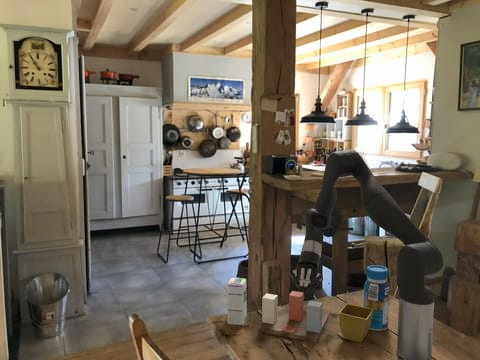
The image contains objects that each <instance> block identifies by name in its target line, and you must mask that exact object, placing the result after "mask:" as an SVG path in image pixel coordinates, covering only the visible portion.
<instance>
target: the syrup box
mask: <svg viewBox="0 0 480 360" xmlns="http://www.w3.org/2000/svg"><path fill="white" fill-rule="evenodd" d="M247 297H248V295H247V278H244V277H230V279H229V280H228V282H227V283H226V307H227V308H226V310H227V313H226V314H227V317H226V318H227V324H228V325H233V326H234V325H235V326H244V325H245V323H246V321H247V319H248V307H247V306H248V299H247Z"/></svg>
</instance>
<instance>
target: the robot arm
mask: <svg viewBox="0 0 480 360" xmlns="http://www.w3.org/2000/svg"><path fill="white" fill-rule="evenodd" d="M351 176H352V177H353V178H355V180H356V181H357V182H358V184H359V186H360V204H361V207H362V209H363V211H364V212H365V213H366V214H367V216H368V217H369V218H370V219H371V221H372V222H373V223H374V224H375V225H377V226H378V227H379V228H381V229H383V230H384V231H386V232H387V233H389V234H390V235H392V236H394V237H395V238H397V239H398V240H399V241H400V242H402V244H403V246H402V247H400V249H399V250H398V253H397V258H396V284H397V287H398V294H399V298H398V315H397V316H398V319H397V320H398V321H397V336H396V354H397V356H398V357H399V358H401V360H432V355H433V338H434V327H433V325H434V314H435V313H434V311H435V310H434V309H435V296H436V295H435V292H434V289H432V288H431V287H429V286H426V285H425V276H430V275H431V276H432V275H434V274H438V273H439V272H441V271H442V270H443V267H444V263H445V262H444V257H443V254H442V252H441V250H440V249H439V248H438V247H437V245H436V244H435V243H434V242H433V241H432V240H431V239H430V238H429V237H428V236H427V235H426V234H424V232H423V231H422V230H420V228H418V226H417V225H415V223H414V222H413V221H412V220H411V219H410V217H409V216H408V215H407V214H406V213H405V211H404V210H403V209H401V207H400V205H398V202H396V200H395V198H393V196H391V194H390V193H389V192H388V191H387V190H386V188H385V187H384V186H383V184H381V183H380V181H379V180H378V179H377V178H376V176H375V175H374V174H373V172H372V171H371V168H369V166H368V164H367V163H366V162H365V160H364V158H363V157H362V156H361V154H360V153H359V152H358V151H357V150H355V149H349V148H348V149H343V150H336V151H333V152H331V153H330V154H328V157H327V159H326V162H325V167H324V172H323V176H322V181H321V188H320V191H319V192H318V196H317V198H316V200H315V203H314V208H308V209H307V210H306V211H305V214H304V224H305V225H304V226H305V236H304V240H303V244H302V247H301V250H300V255H299V259H298V264H297V266H296V268H295V269H294V270H289V274H290V276H291V278H292V280H293V282H294V283H295V285H296V287H298V292H302V293H304V299H305V298H307V297H308V296H307V295H308V291H309V290H310V289H311V290H313V289H314V288H315V287H317V286H318V285H319V284H321V283H322V282H323V281H324V276H323V274H321V273H320V271H319V267H320V261H321V257H322V248H323V243H324V233H323V232H322V231H323V230H327V229H329V228H330V226H331V224H332V212H333V209H334V208H335V205H336V203H337V200H338V191H337V189H336V185H335V184H336V182H337V180H338V179H339V178H346V177H351ZM321 230H322V231H321ZM297 274H298V275H297ZM297 276H299V280H298V278H297Z"/></svg>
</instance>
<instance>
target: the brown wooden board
mask: <svg viewBox="0 0 480 360" xmlns="http://www.w3.org/2000/svg"><path fill="white" fill-rule="evenodd" d="M328 321H329V314H326V313H322V328H321V330H320V332H319V333H316V332H310V331H307V310H303V318H302V320H301V321H295V320H290V319H289V307H287V306H286V307H284V306H279V305H278V309H277V321H276V322H275V323H274V324H269V323H263V322H261V324H260V325H259V327H258V332H261V333H264V334H265V333H266V334H269V335H270V334H271V335H275V336H281V337H285V338H290V339H296V340H301V341H306V342H309V343H315V344H317V343H318V341H319V340H320V337H321V335H322V333H323V330H324V329H325V326H326V325H327V323H328Z"/></svg>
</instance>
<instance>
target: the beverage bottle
mask: <svg viewBox="0 0 480 360" xmlns="http://www.w3.org/2000/svg"><path fill="white" fill-rule="evenodd" d="M366 278H367V279H366V280H365V282H364V283H363V289H364V290H363V292H362V307H366V308H370V309H373V316H372V321H371V326H370V328H369V331H375V332H376V331H377V332H380V331H381V332H382V331H383V332H384V331H386V330H387V329H388V328H389V313H390V299H391V297H390V288H391V287H390V285H389V283H388V282H387V281H388V278H389V269H388V267H386V266H382V265H379V264H378V265H375V264H374V265H368V266H367V267H366Z"/></svg>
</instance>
